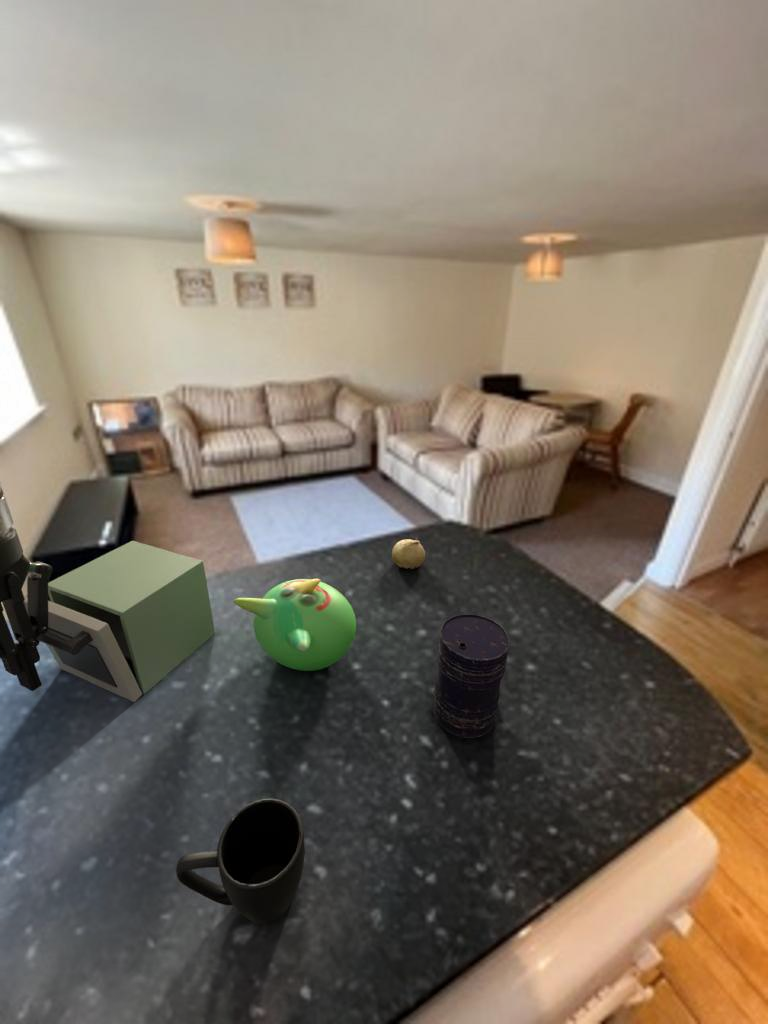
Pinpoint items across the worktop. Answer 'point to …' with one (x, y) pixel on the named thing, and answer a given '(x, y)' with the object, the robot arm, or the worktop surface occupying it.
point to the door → (88, 650)
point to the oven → (143, 605)
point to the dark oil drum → (469, 674)
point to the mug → (253, 862)
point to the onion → (408, 554)
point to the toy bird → (302, 623)
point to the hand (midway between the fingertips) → (31, 684)
